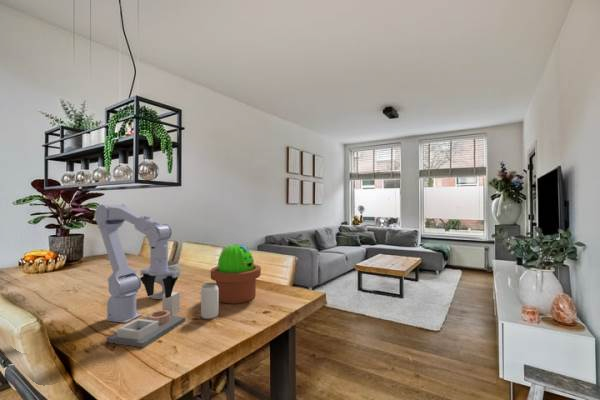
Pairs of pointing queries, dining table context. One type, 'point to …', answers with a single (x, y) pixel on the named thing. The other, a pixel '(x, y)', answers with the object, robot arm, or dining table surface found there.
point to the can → (209, 301)
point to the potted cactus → (236, 275)
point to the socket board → (146, 329)
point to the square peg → (172, 303)
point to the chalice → (158, 279)
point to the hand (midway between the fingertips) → (159, 296)
